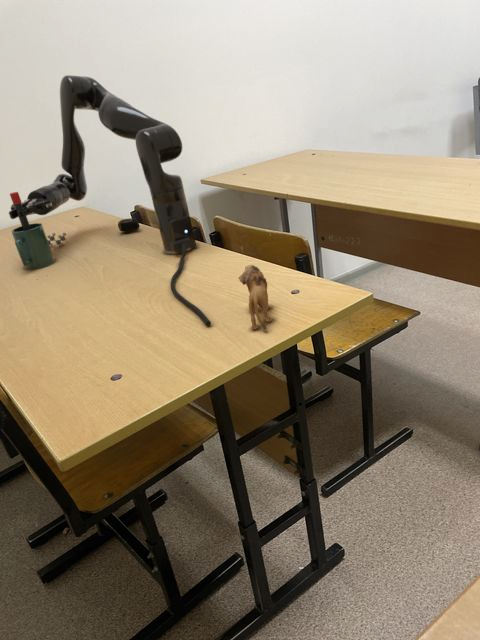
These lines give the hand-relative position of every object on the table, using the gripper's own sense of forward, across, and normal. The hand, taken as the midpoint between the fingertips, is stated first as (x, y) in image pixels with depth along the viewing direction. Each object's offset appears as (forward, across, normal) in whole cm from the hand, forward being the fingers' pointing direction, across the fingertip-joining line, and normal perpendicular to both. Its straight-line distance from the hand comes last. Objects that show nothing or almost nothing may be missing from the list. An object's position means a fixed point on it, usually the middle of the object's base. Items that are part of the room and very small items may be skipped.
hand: (15, 215), depth 152 cm
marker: (-3, 0, +8) cm, 9 cm away
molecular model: (-20, -5, +16) cm, 26 cm away
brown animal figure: (+44, +77, +16) cm, 90 cm away
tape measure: (-30, +19, +14) cm, 39 cm away
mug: (-1, 0, +16) cm, 16 cm away
